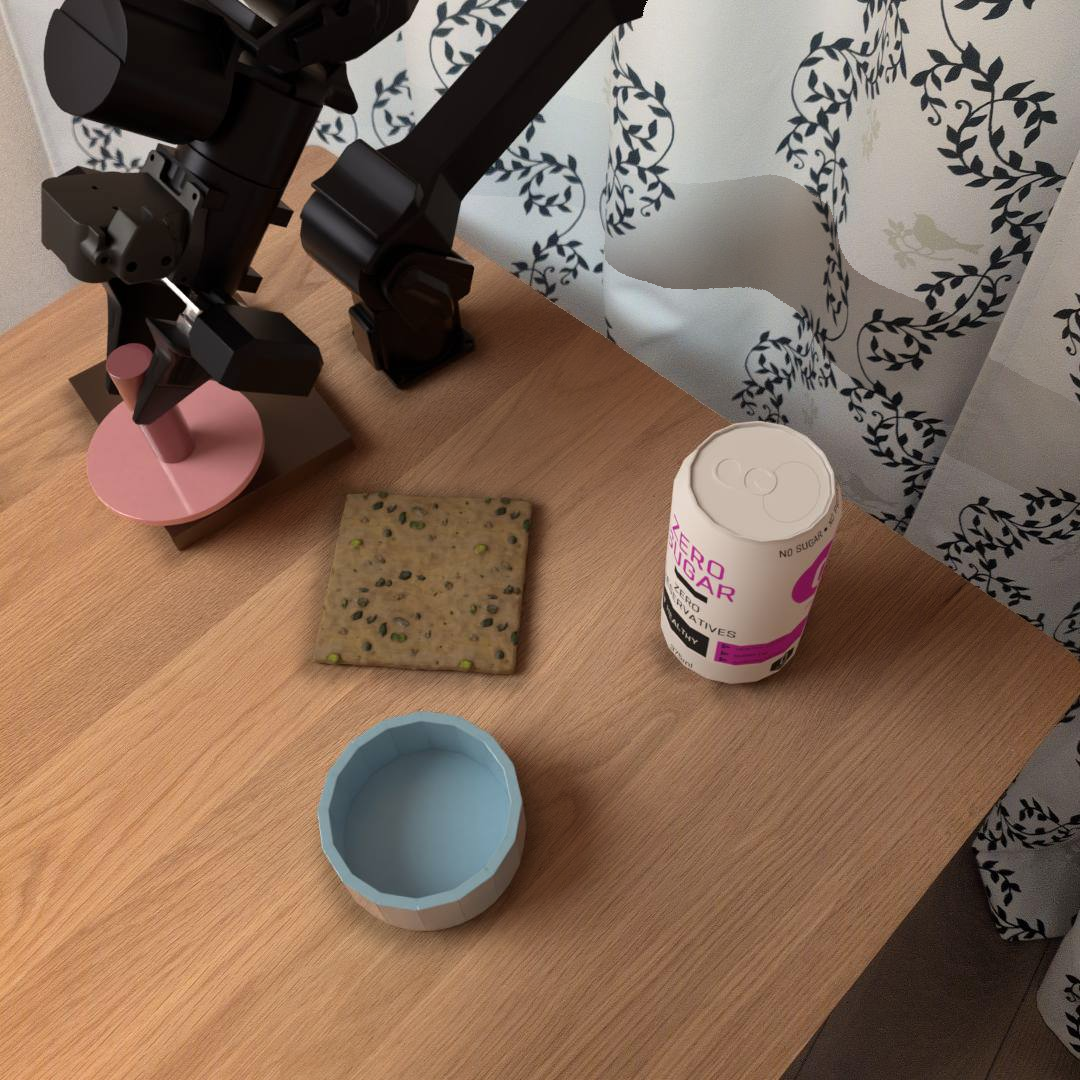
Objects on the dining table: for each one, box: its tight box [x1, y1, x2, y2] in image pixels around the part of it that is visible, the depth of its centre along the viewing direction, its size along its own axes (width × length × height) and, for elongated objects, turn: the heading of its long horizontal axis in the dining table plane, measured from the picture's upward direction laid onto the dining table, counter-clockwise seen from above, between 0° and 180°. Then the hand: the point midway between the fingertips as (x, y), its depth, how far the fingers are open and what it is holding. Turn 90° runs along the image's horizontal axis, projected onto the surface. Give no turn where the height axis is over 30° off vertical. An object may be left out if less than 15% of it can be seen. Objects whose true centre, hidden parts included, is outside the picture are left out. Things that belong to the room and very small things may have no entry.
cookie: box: [312, 491, 533, 675], centre depth 69 cm, size 12×12×1 cm
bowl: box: [316, 710, 527, 932], centre depth 60 cm, size 10×10×4 cm
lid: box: [86, 343, 265, 527], centre depth 67 cm, size 11×11×9 cm
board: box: [67, 292, 357, 551], centre depth 77 cm, size 13×16×2 cm
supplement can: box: [660, 420, 843, 685], centre depth 61 cm, size 8×8×15 cm
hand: (127, 408), depth 66 cm, fingers closed on lid, 3 cm apart
